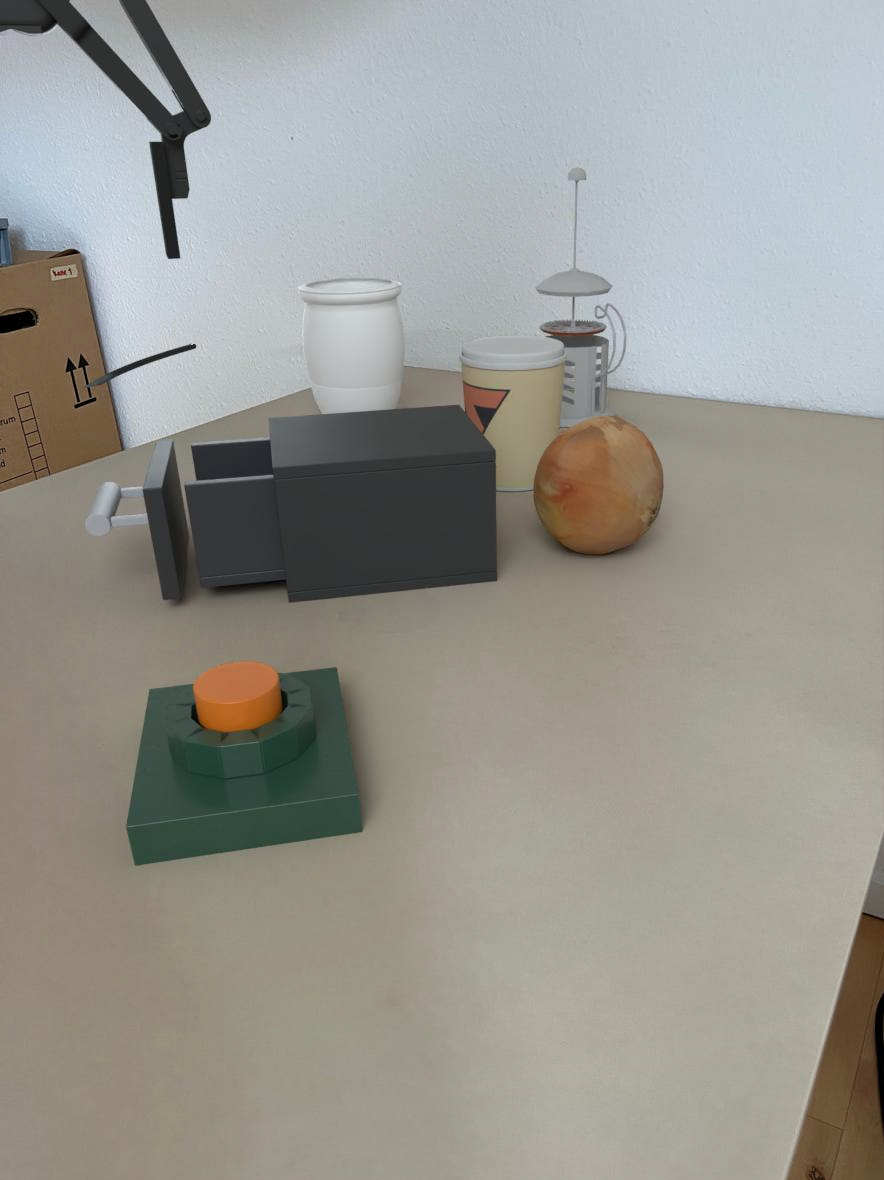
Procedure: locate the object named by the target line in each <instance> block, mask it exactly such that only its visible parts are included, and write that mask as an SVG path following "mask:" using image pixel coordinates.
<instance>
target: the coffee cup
mask: <svg viewBox="0 0 884 1180" xmlns="http://www.w3.org/2000/svg"><path fill="white" fill-rule="evenodd" d="M458 355H459V356H458V357H459V361H460V363H461V377H462V391H463V403H464V404H463V405H464V411H465V413H466V414H467V415H468V416H469V418H470V419H471V420H472V421H473V423H474V424H475V425H476V426H477V428H478V429H479V430H480V431H481V433H482V434H483V435H484V436H485V437H486V439H487V440H488V441H489V442H490V444H491V445H492V446H493V447H494V449H495V450H496V461H495V462H496V491H499V492H525V491H533V488H534V478H535V473H536V470H537V466H538V463H539V461H540V459H541V457H542V455H543V453H544V451H545V450H546V448H547V447H548V446H549V444H550V443H551V442H552V441H553V440H554V439H555V438H556V437H557V436H558V435H560V429H561V427H560V419H561V408H562V397H563V390H564V388H563V384H564V378H565V377H564V370H565V361H566V360H567V352H566V350H564V344H563V343H562V342H561V341H559V340H556V339H553V338H548V337H545V336H540V335H530V334H529V335H528V334H503V335H492V336H483V337H479V338H474V339H470V340H467V341H465V342H464V343H463V344H462V346H461V350H460V351H459V354H458Z"/></svg>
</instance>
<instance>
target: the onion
mask: <svg viewBox="0 0 884 1180" xmlns="http://www.w3.org/2000/svg"><path fill="white" fill-rule="evenodd" d="M664 483H665V481H664V469H663V465H662V462H661V460H660V457H659V455H658V453H657V451H656V449H655V447H654V445H653V443H652V442H651V440H650V438H648V436H647V435H646V433H644V432H643V430H641V429H640V428H639V427H637V426H635V425H634V424H632V423H630V422H628V421H626V419H624V418H621V417H620V416H617V415H615V416H598V417H593V418H590V419H588V420H585V421H582V422H580V423H577V424H575V425H573V426H572V427H567V428H566V429H565V430H563V432H561V433H559V435H558V436H557V437H556V438H555V439H554V440H553V441H552V442H551V443H550V444H549V446H548V447H547V448H546V450H545V451H544V453H543V455H542V457H541V459H540V461H539V463H538V466H537V470H536V473H535V478H534V488H533V490H532V491H533V492H532V493H533V494H532V496H533V504H534V508H535V512H536V515H537V517H538V518H539V520H540V522H541V523H542V525H543V527H544V528H545V530H547V532H548V533H549V534H550V535H551V536H552V537H553V538H554V539H555V540H557V542H559V543H560V544H561V545H563V547H565V548H568V549H569V550H571V551H572V552H575V553H580V554H585V555H586V556H587V555H590V556H591V555H604V554H608V553H612V552H615V551H618V550H622V549H623V548H624V549H625V548H627V547H629V546H631V545H633V544H634V543H635V542H637V541H638V540H640V539H641V538H642V537H643V536H644V535H645V534H646V533H647V532H648V530H650V528H651V527H652V526H653V525H654V523H655V522H656V520H657V518H658V515H659V512H660V510H661V507H662V506H661V505H662V502H663V497H664V487H665V486H664Z"/></svg>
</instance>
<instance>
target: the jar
mask: <svg viewBox="0 0 884 1180" xmlns="http://www.w3.org/2000/svg"><path fill="white" fill-rule="evenodd" d="M401 285H402V283H401V282H399V281H397V280H393V279H387V278H380V277H379V278H378V277H344V278H343V277H342V278H331V279H321V280H316V281H311V282H306V283H303V284H300V285H298V286H297V287H296V288H297V295H298V297H299V299H300V300H302V301H303V304H304V306H303V311H302V320H301V321H302V322H301V342H302V343H301V344H302V351H303V358H304V363H305V367H306V371H307V374H308V377H309V381H310V388H311V392H312V394H313V395H312V396H313V398H314V401H315V402H316V405H317V407H318V409H319V411H320V414H333V413H347V412H361V411H375V410H390V409H397V407H398V404H399V401H400V398H401V393H402V387H403V374H404V366H405V351H406V349H405V348H406V346H405V332H404V325H403V320H402V319H403V318H402V315H401V310H400V308H399V305H398V301H397V298H398V297H399V296H400V295H401V293H402V286H401Z"/></svg>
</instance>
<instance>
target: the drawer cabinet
mask: <svg viewBox="0 0 884 1180" xmlns="http://www.w3.org/2000/svg"><path fill="white" fill-rule="evenodd" d="M267 420H268V430H269V437H270V443H271V455H272V466H273V475H274V483H275V492H276V500H277V508H278V517H279V525H280V533H281V542H282V550H283V558H284V567H285V575H286V580H285V583H286V591H287V600H288V603H289V604H292V603H301V602H310V601H321V600H329V599H330V600H331V599H339V598H349V597H360V596H368V595H377V594H379V595H380V594H387V593H399V592H406V591H416V590H417V591H418V590H426V589H434V588H435V589H436V588H446V587H455V586H465V585H474V584H483V583H492V582H493V583H494V582H497V581H498V571H497V570H498V557H497V556H498V555H497V553H498V550H497V549H498V548H497V546H498V545H497V544H498V543H497V542H498V541H497V490H496V462H495V461H496V450H495V449H494V447H493V446H492V445H491V444H490V442H489V441H488V440H487V439H486V437H485V436H484V435H483V434H482V433H481V431H480V430H479V429H478V428H477V426H476V425H475V424H474V423H473V421H472V420H471V419H470V418H469V416H468V415H467V414H466V413H465V409H463V408H462V407H461V404H449V405H448V404H447V405H434V406H433V405H432V406H420V407H418V406H417V407H406V408H396V409H390V410H375V411H361V412H347V413H333V414H322V413H319V414H306V415H290V416H279V417H269V418H268V419H267Z"/></svg>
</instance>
